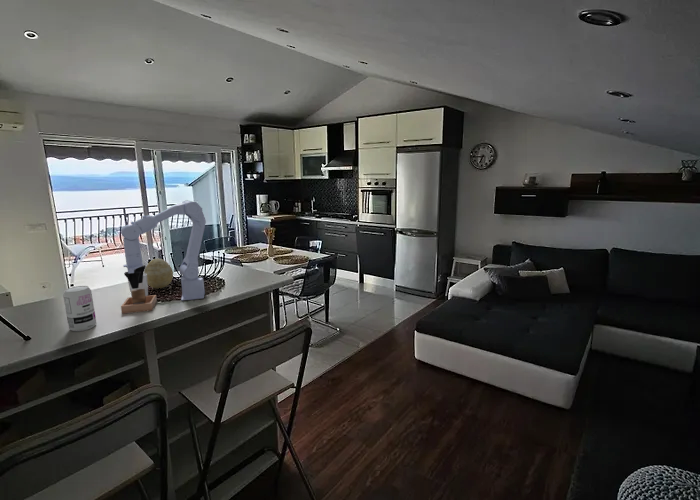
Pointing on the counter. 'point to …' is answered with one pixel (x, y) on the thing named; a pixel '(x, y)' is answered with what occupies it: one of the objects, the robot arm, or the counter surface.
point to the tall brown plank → (138, 295)
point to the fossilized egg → (158, 273)
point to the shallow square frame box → (139, 305)
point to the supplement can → (79, 308)
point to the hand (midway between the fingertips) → (137, 285)
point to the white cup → (141, 285)
